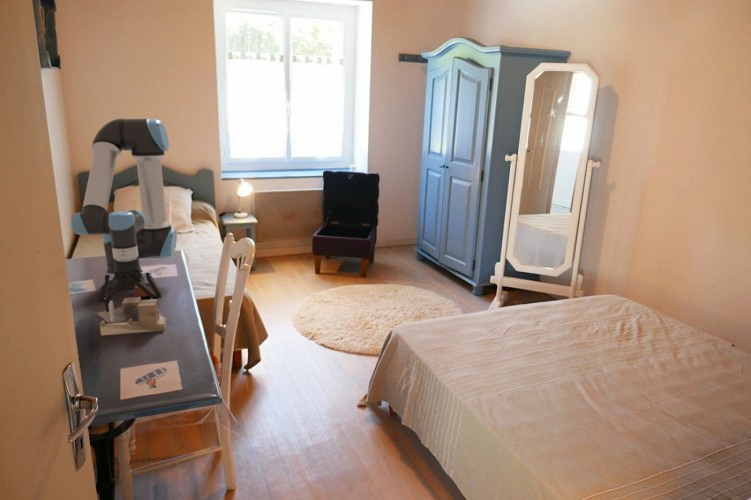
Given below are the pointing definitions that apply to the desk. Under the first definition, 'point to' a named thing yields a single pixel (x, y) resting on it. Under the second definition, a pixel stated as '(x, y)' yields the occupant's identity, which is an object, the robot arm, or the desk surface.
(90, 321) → the desk surface
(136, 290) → the battery
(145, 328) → the rail
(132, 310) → the cardboard box
